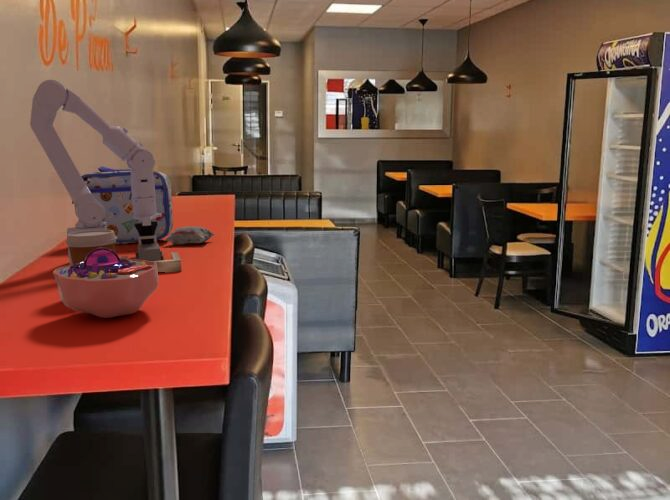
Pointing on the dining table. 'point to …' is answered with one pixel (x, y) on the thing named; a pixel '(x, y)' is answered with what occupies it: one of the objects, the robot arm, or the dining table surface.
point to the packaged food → (189, 235)
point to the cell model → (106, 284)
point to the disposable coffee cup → (89, 243)
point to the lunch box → (128, 202)
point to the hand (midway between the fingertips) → (148, 250)
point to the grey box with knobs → (149, 250)
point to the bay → (168, 263)
